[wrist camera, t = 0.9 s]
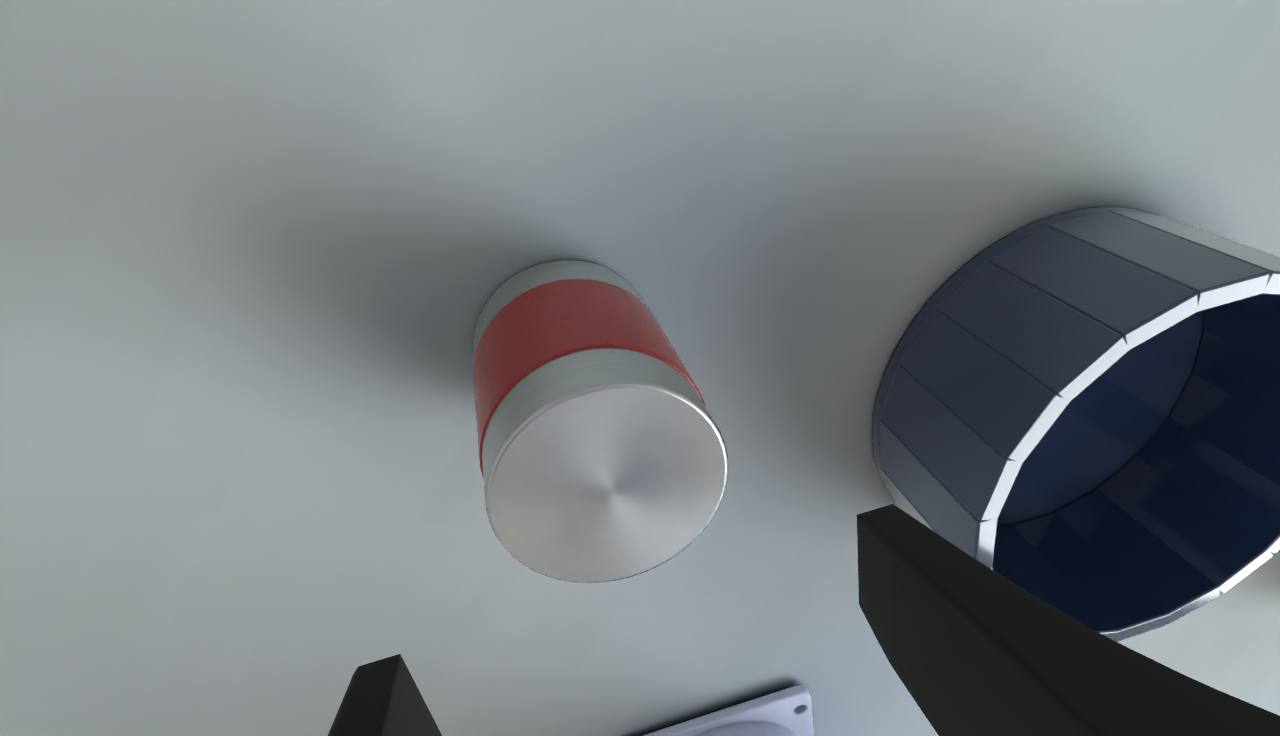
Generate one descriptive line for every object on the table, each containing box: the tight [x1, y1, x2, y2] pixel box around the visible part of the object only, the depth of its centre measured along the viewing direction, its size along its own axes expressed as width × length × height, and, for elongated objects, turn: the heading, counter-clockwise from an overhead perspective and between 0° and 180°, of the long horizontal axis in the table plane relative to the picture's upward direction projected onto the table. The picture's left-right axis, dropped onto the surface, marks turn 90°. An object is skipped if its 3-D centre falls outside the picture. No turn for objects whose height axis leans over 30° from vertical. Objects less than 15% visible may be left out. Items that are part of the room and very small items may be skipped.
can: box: [473, 260, 728, 583], centre depth 17 cm, size 5×5×6 cm
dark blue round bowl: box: [872, 207, 1280, 642], centre depth 22 cm, size 12×12×6 cm
